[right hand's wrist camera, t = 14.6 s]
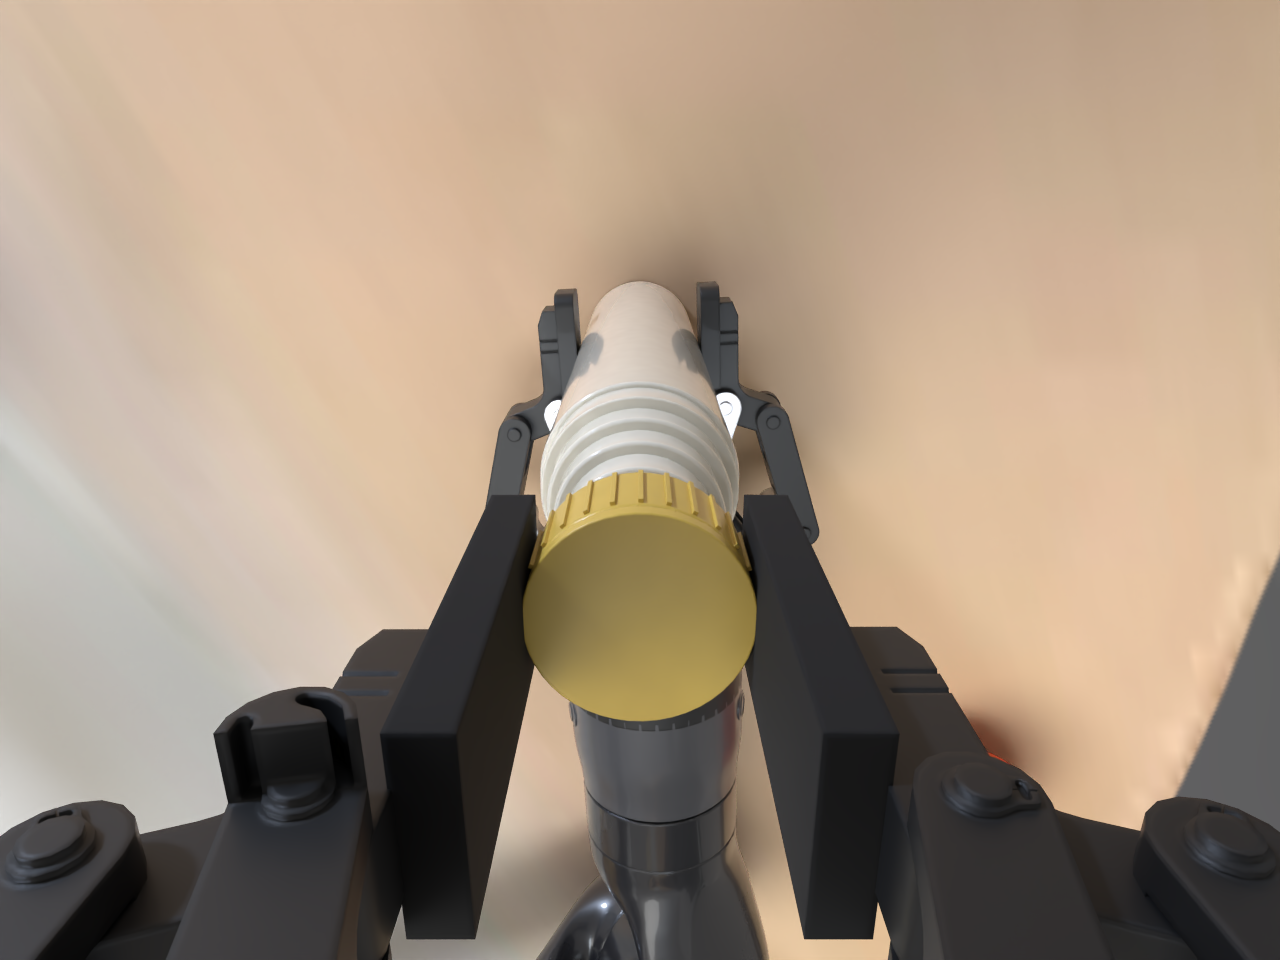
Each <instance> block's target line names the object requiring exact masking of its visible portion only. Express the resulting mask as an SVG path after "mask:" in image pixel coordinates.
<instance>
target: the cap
mask: <svg viewBox="0 0 1280 960" xmlns="http://www.w3.org/2000/svg"><path fill="white" fill-rule="evenodd" d="M528 568H529V569H531V571H530V574H529V578H528V581H527V585H526V589H525V592H524V596H523V622H524V638H525V644H526V647H527V650H528V653H529V655H530V657H531V659H532V661H533V663H534V665H535V666H536V668H537V669H538V671H539V672H540V674H541V675H542V676H543V678H544V679H545V680H546V681H547V682H548V683H549V684H550V685H551V686H552V687H553V688H554V689H555V690H556V691H557V692H558V693H560V694H561V695H562V696H563V697H565V698H566V699H568V700H569V701H571V702H572V703H574V704H576V705H577V706H579V707H581V708H583V709H585V710H587V711H590V712H593V713H595V714H598V715H601V716H605V717H609V718H613V719H619V720H626V721H652V720H661V719H666V718H671V717H675V716H678V715H681V714H684V713H687V712H689V711H692V710H694V709H696V708H698V707H700V706H702V705H704V704H705V703H707V702H709V701H710V700H712V699H713V698H715V697H716V696H717V695H718V694H720V693H721V692H722V691H723V690H724V689H725V688H726V687H727V686H728V685H729V684H730V683H731V682H732V681H733V680H734V679H735V678H736V676H737V675H738V674H739V673H740V671H741V670H742V668H743V666H744V665H745V663H746V661H747V659H748V658H749V655H750V653H751V650H752V648H753V645H754V642H755V629H756V610H757V600H756V595H755V590H754V587H753V583H752V580H751V576H750V573H749V571H751V570H752V567H751V564H750V561H749V557H748V554H747V550H746V547H745V543H744V540H743V536H742V534H741V532H738V533H737V531H736V529H735V527H734V524H733V520H732V517H731V514H730V513H729V511H728V512H726V513H725V511H724V510H723V509H722V508H721V507H720V506H719V505H718V504H717V503H716V501H715V497H714V496H713V495H712V494H710V495H709V496H708V495H707V494H705V493H704V492H703V491H701V490H700V489H698V488H696V487H694V483H693V482H691V481H689V482H688V483H686V482H684V481H682V480H679V479H677V478H674V477H671V476H669V473H666V472H665V473H664V475H661V474H654V473H644V472H643V470H638V472H635V473H625V474H617V472H614V473H612V476H609V477H606V478H602V479H600V480H598V481H595V482H593V480H590V481H588V484H587V486H585V487H583V488H581V489H580V490H578V491H577V492H575V493H574V494H571V493H569V494H567V496H566V500H565V501H564V502H563V503H562V504H561V505H560V506H559V507H558V508H557V510H556V511H554V510H551V512H550V513H549V517H548V521H547V524H546V525H545V527H544V529H543V531H542V530H539V532H538V535H537V538H536V542H535V545H534V548H533V552H532V555H531V559H530V562H529V566H528Z"/></svg>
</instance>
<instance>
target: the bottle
mask: <svg viewBox="0 0 1280 960" xmlns="http://www.w3.org/2000/svg"><path fill="white" fill-rule="evenodd" d="M638 470H643V472H644V473H654V474H661V475H664V473H665V472H666V473H669V476H671V477H674V478H677V479H679V480H682V481H684V482H686V483H688V482H689V481H691V482H693V483H694V487H696V488H698V489H700V490H701V491H703V492H704V493H705V494H707V495H708V496H709V495H710V494H712V495H713V496H714V497H715V501H716V503H717V504H718V505H719V506H720V507H721V508H722V509H723V510H724V511H725V513H726V512H728V511H729V513H730V514H731V517H732V520H733V519H734V516H735V513H736V509H737V504H738V496H739V463H738V458H737V453H736V449H735V447H734V444H733V441H732V438H731V435H730V433H729V430H728V427H727V424H726V421H725V418H724V416H723V413H722V410H721V407H720V404H719V402H718V399H717V396H716V393H715V390H714V387H713V385H712V382H711V379H710V376H709V373H708V371H707V368H706V365H705V362H704V359H703V357H702V354H701V351H700V348H699V345H698V342H697V340H696V337H695V334H694V331H693V328H692V326H691V323H690V320H689V317H688V314H687V312H686V310H685V308H684V306H683V304H682V303H681V302H680V300H679V299H678V298H677V297H676V296H675V295H674V294H673V293H672V292H670V291H669V290H667V289H666V288H664V287H662V286H660V285H658V284H654V283H651V282H643V281H637V282H629V283H625V284H623V285H620V286H618V287H616V288H614V289H612V290H611V291H610V292H608V293H607V294H606V295H605V296H604V297H603V298H602V299H601V300H600V302H599V303H598V304H597V306H596V308H595V309H594V312H593V314H592V317H591V319H590V322H589V325H588V328H587V331H586V333H585V336H584V339H583V342H582V344H581V347H580V350H579V353H578V356H577V358H576V361H575V364H574V367H573V370H572V372H571V375H570V378H569V381H568V383H567V386H566V389H565V392H564V395H563V397H562V400H561V403H560V406H559V409H558V411H557V414H556V417H555V420H554V422H553V425H552V428H551V431H550V434H549V436H548V439H547V442H546V445H545V448H544V452H543V456H542V461H541V469H540V477H541V500H542V507H543V511H544V514H545V517H546V520H547V521H548V517H549V513H550V512H551V510H554V511H556V510H557V508H558V507H559V506H560V505H561V504H562V503H563V502H564V501H565V500H566V496H567V494H569V493H571V494H574V493H575V492H577V491H578V490H580V489H581V488H583V487H585V486H587V484H588V481H590V480H593V482H595V481H598V480H600V479H602V478H606V477H609V476H612V473H614V472H617V474H625V473H635V472H638Z"/></svg>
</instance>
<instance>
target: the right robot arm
mask: <svg viewBox="0 0 1280 960" xmlns="http://www.w3.org/2000/svg"><path fill="white" fill-rule="evenodd" d="M742 536H743V540H744V543H745V547H746V550H747V554H748V557H749V561H750V564H751V567H752V570H751V571H749V573H750V576H751V580H752V583H753V587H754V590H755V595H756V600H757V610H756V629H755V642H754V645H753V648H752V650H751V653H750V655H749V658H748V659H747V661H746V663H745V667H746V672H747V677H748V681H749V686H750V691H751V695H752V700H753V704H754V709H755V714H756V718H757V723H758V728H759V732H760V737H761V741H762V746H763V751H764V755H765V760H766V765H767V769H768V774H769V778H770V783H771V788H772V792H773V797H774V801H775V806H776V811H777V815H778V820H779V825H780V829H781V834H782V838H783V843H784V848H785V852H786V857H787V862H788V866H789V871H790V875H791V880H792V885H793V889H794V894H795V899H796V903H797V908H798V912H799V917H800V922H801V926H802V931H803V936H804V939H873V935H874V927H875V919H876V912H877V904H878V903H879V906H880V909H881V912H882V915H883V918H884V921H885V924H886V927H887V930H888V933H889V936H890V939H891V942H890V949H889V956H888V960H1280V832H1279V831H1277V830H1276V829H1275V828H1273V827H1272V826H1271V825H1269V824H1267V823H1265V822H1263V821H1261V820H1259V819H1257V818H1255V817H1253V816H1251V815H1249V814H1247V813H1245V812H1243V811H1241V810H1239V809H1237V808H1234V807H1230V806H1228V805H1224V804H1221V803H1217V802H1214V801H1211V800H1207V799H1198V798H1187V797H1175V798H1170V799H1165V800H1161V801H1157V802H1156V803H1155V804H1154V805H1153V806H1152V807H1151V808H1150V809H1149V810H1148V811H1147V812H1146V813H1145V816H1144V820H1143V824H1142V828H1141V831H1138V830H1133V829H1129V828H1124V827H1120V826H1116V825H1111V824H1107V823H1102V822H1098V821H1093V820H1089V819H1084V818H1081V817H1077V816H1074V815H1070V814H1067V813H1064V812H1060V811H1058V810H1056V809H1054V806H1053V804H1052V802H1051V800H1050V799H1049V798H1048V796H1047V795H1046V793H1045V792H1044V790H1043V789H1042V787H1041V786H1040V784H1038V783H1037V782H1036V781H1035V780H1033V779H1032V778H1031V777H1029V776H1028V775H1027V774H1026V773H1024V772H1023V771H1022V770H1020V769H1019V768H1017V767H1015V766H1012V765H1010V764H1008V763H1006V762H1004V761H1002V760H999V759H997V758H995V757H991V756H989V754H988V752H987V751H986V749H985V747H984V746H983V744H982V742H981V741H980V739H979V737H978V736H977V734H976V733H975V731H974V729H973V728H972V726H971V724H970V723H969V721H968V719H967V718H966V716H965V714H964V713H963V711H962V709H961V708H960V706H959V705H958V703H957V701H956V700H955V698H954V696H953V695H952V693H949V688H948V686H947V685H946V683H945V682H944V680H943V678H942V677H941V675H940V674H937V668H936V667H935V665H934V663H933V662H932V660H931V658H930V657H929V655H928V654H927V652H926V650H925V649H924V647H923V646H922V645H921V644H919V643H918V642H916V641H915V640H914V639H912V638H911V637H910V636H908V635H907V634H906V633H904V632H903V631H902V630H900V629H899V628H897V627H849V624H848V622H847V620H846V618H845V616H844V614H843V612H842V610H841V607H840V605H839V603H838V601H837V599H836V597H835V595H834V592H833V590H832V588H831V586H830V584H829V582H828V580H827V578H826V575H825V573H824V571H823V569H822V567H821V565H820V563H819V561H818V558H817V556H816V554H815V552H814V550H813V548H812V546H811V544H810V541H809V539H808V537H807V535H806V533H805V531H804V529H803V526H802V524H801V522H800V520H799V518H798V516H797V514H796V512H795V509H794V507H793V505H792V503H791V501H790V499H789V497H788V495H744V510H743V531H742ZM536 538H537V522H536V500H535V495H491V498H490V500H489V502H488V504H487V506H486V508H485V510H484V512H483V515H482V517H481V519H480V521H479V523H478V525H477V527H476V530H475V532H474V534H473V536H472V538H471V540H470V542H469V544H468V547H467V549H466V551H465V553H464V555H463V557H462V559H461V561H460V564H459V566H458V568H457V570H456V572H455V574H454V576H453V578H452V581H451V583H450V585H449V587H448V589H447V591H446V593H445V596H444V598H443V600H442V602H441V604H440V606H439V608H438V610H437V613H436V615H435V617H434V619H433V621H432V623H431V625H430V627H429V629H383V630H382V631H380V632H379V633H378V634H376V635H375V636H374V637H372V638H371V639H370V640H368V641H367V642H366V643H364V644H363V645H361V646H360V647H359V648H357V649H356V651H355V653H354V654H353V656H352V658H351V659H350V661H349V663H348V664H347V666H346V667H345V669H344V671H343V676H342V677H339V679H338V681H337V682H336V684H335V686H334V687H333V689H330V688H326V687H297V688H292V689H287V690H282V691H277V692H273V693H270V694H268V695H265V696H263V697H261V698H258V699H256V700H253V701H251V702H248V703H247V704H245V705H244V706H242V707H241V708H239V709H238V710H236V711H235V712H233V713H232V714H230V715H229V716H227V717H226V718H225V720H224V721H223V722H222V723H221V725H220V726H219V727H218V729H217V730H216V731H215V732H214V734H213V735H214V739H215V744H216V749H217V753H218V758H219V763H220V767H221V772H222V777H223V781H224V786H225V791H226V795H227V800H228V805H227V808H226V810H225V813H223V814H221V815H218V816H214V817H211V818H208V819H204V820H201V821H197V822H193V823H189V824H184V825H180V826H175V827H171V828H166V829H162V830H158V831H153V832H149V833H144V834H139V830H138V826H137V823H136V819H135V816H134V815H133V814H132V813H131V812H130V811H129V810H128V809H127V808H126V807H125V806H124V805H121V804H116V803H112V802H107V801H103V800H100V801H89V802H78V803H72V804H69V805H65V806H62V807H59V808H55V809H52V810H49V811H46V812H42V813H40V814H38V815H36V816H34V817H32V818H30V819H28V820H27V821H25V822H23V823H21V824H19V825H17V826H15V827H13V828H11V829H10V830H8V831H7V832H6V833H4V834H3V835H2V836H0V960H392V956H391V949H390V939H391V936H392V933H393V930H394V927H395V924H396V921H397V917H398V914H399V911H400V908H401V905H402V908H403V916H404V923H405V931H406V939H475V938H476V933H477V928H478V924H479V919H480V914H481V910H482V905H483V901H484V896H485V891H486V887H487V882H488V878H489V873H490V868H491V864H492V859H493V854H494V850H495V845H496V841H497V836H498V831H499V827H500V822H501V817H502V813H503V808H504V804H505V799H506V794H507V790H508V785H509V781H510V776H511V771H512V767H513V762H514V757H515V753H516V748H517V744H518V739H519V734H520V730H521V725H522V720H523V716H524V711H525V707H526V702H527V697H528V693H529V688H530V683H531V679H532V674H533V670H534V663H533V661H532V659H531V657H530V655H529V653H528V650H527V647H526V644H525V638H524V622H523V596H524V592H525V589H526V585H527V581H528V578H529V574H530V571H531V569H529V568H528V566H529V562H530V559H531V555H532V552H533V548H534V545H535V542H536Z"/></svg>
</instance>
